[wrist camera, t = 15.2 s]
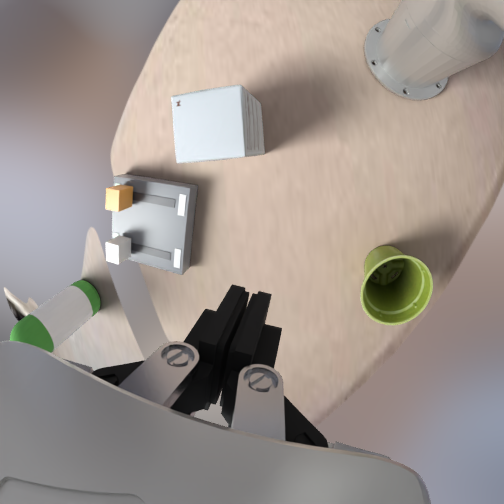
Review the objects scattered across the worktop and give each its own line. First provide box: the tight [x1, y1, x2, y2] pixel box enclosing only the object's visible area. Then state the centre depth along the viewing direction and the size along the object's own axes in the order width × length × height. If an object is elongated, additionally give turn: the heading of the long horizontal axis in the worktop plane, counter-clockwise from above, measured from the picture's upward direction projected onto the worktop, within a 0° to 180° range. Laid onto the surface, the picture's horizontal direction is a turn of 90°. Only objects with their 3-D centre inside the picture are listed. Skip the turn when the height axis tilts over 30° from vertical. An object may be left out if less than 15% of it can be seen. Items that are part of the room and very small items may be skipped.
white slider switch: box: [106, 235, 131, 264], centre depth 41 cm, size 3×2×4 cm
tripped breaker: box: [106, 185, 133, 212], centre depth 38 cm, size 3×2×4 cm
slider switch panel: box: [112, 174, 198, 275], centre depth 43 cm, size 13×13×3 cm
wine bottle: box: [10, 280, 100, 353], centre depth 39 cm, size 8×8×30 cm
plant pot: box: [360, 246, 433, 325], centre depth 35 cm, size 9×9×9 cm
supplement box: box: [171, 85, 265, 163], centre depth 31 cm, size 7×7×13 cm
